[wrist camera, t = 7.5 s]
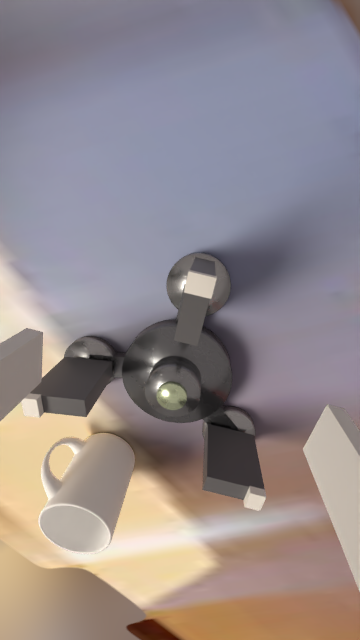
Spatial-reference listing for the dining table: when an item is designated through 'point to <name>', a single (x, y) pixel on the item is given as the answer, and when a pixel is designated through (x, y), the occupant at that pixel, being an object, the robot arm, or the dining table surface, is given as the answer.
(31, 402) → the knob
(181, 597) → the dining table surface
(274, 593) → the dining table surface
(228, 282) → the tribrach
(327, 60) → the dining table surface
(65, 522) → the mug
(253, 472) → the dark grey angled finger
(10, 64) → the dining table surface
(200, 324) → the knob
